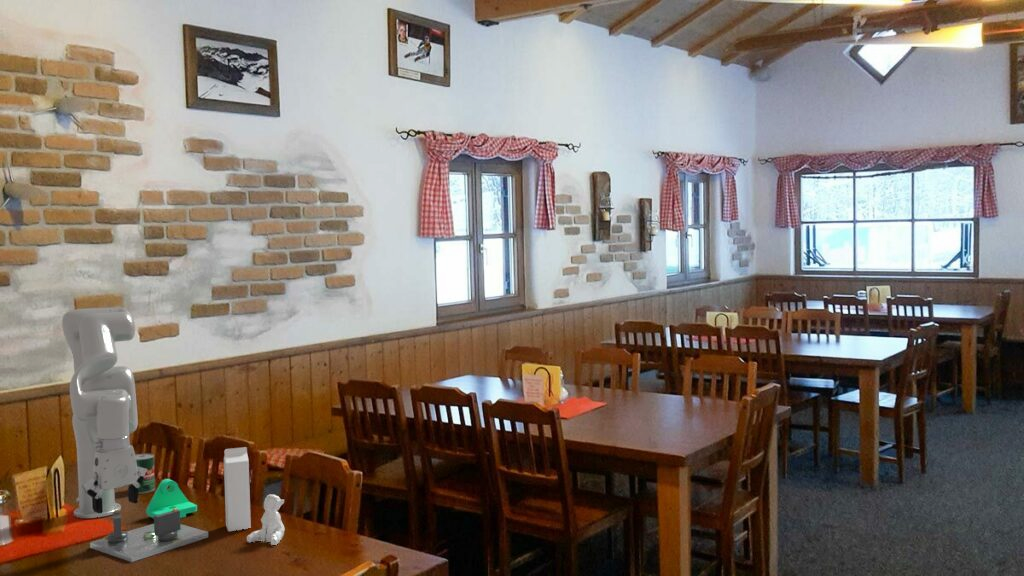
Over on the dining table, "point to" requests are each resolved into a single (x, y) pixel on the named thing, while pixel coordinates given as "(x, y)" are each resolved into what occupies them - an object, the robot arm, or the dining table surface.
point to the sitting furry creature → (270, 522)
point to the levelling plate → (147, 543)
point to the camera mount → (169, 500)
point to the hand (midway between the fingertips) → (115, 507)
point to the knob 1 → (117, 529)
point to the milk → (237, 489)
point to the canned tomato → (149, 478)
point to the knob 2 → (167, 525)
